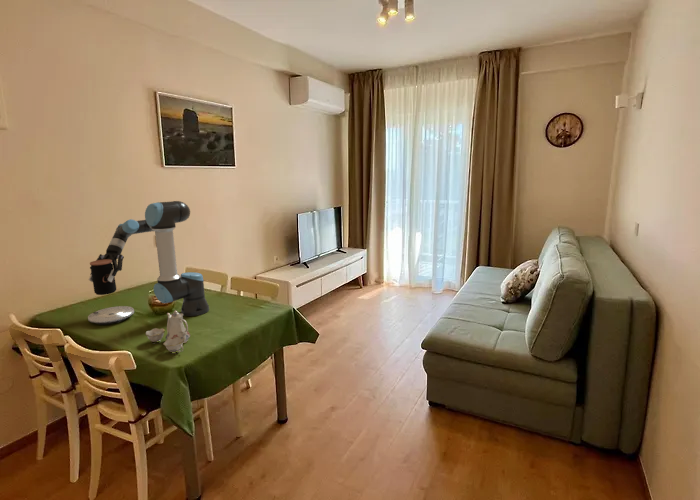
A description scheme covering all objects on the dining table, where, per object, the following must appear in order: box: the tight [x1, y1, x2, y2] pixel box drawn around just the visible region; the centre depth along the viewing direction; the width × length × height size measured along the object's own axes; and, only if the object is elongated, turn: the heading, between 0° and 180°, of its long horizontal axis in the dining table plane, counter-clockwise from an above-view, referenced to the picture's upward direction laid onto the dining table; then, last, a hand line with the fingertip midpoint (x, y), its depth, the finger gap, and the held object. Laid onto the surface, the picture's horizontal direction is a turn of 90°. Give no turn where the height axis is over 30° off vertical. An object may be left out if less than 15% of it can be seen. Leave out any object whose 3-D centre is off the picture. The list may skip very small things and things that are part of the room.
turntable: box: [87, 305, 135, 324], centre depth 217 cm, size 22×22×2 cm
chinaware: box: [145, 309, 191, 353], centre depth 184 cm, size 28×17×17 cm, turn 57°
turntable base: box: [95, 317, 129, 326], centre depth 217 cm, size 16×16×2 cm
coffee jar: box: [89, 259, 117, 296], centre depth 219 cm, size 11×11×18 cm
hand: (100, 280), depth 216 cm, fingers closed on coffee jar, 11 cm apart
